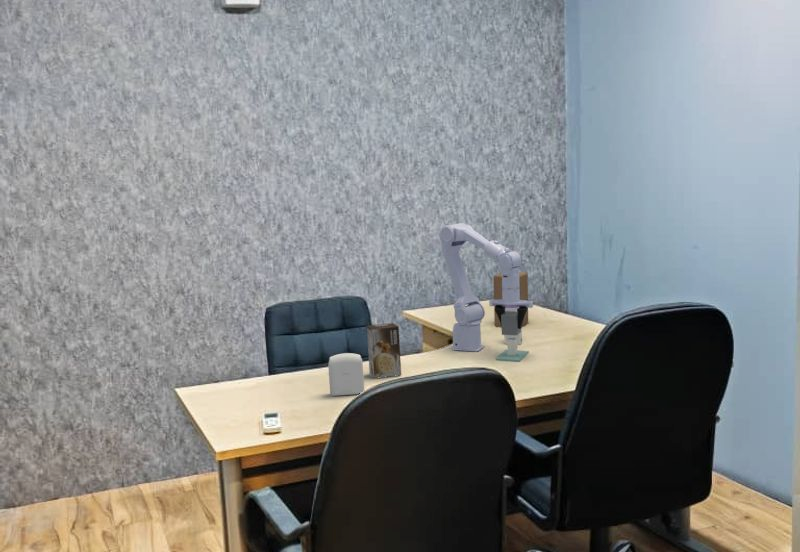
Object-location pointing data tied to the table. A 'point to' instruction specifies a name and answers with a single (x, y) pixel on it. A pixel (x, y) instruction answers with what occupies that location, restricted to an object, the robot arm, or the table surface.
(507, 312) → the dark grey block
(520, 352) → the teal base stand
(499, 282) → the wooden block
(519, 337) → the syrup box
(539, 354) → the table surface
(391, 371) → the coffee box
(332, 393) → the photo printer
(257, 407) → the table surface
